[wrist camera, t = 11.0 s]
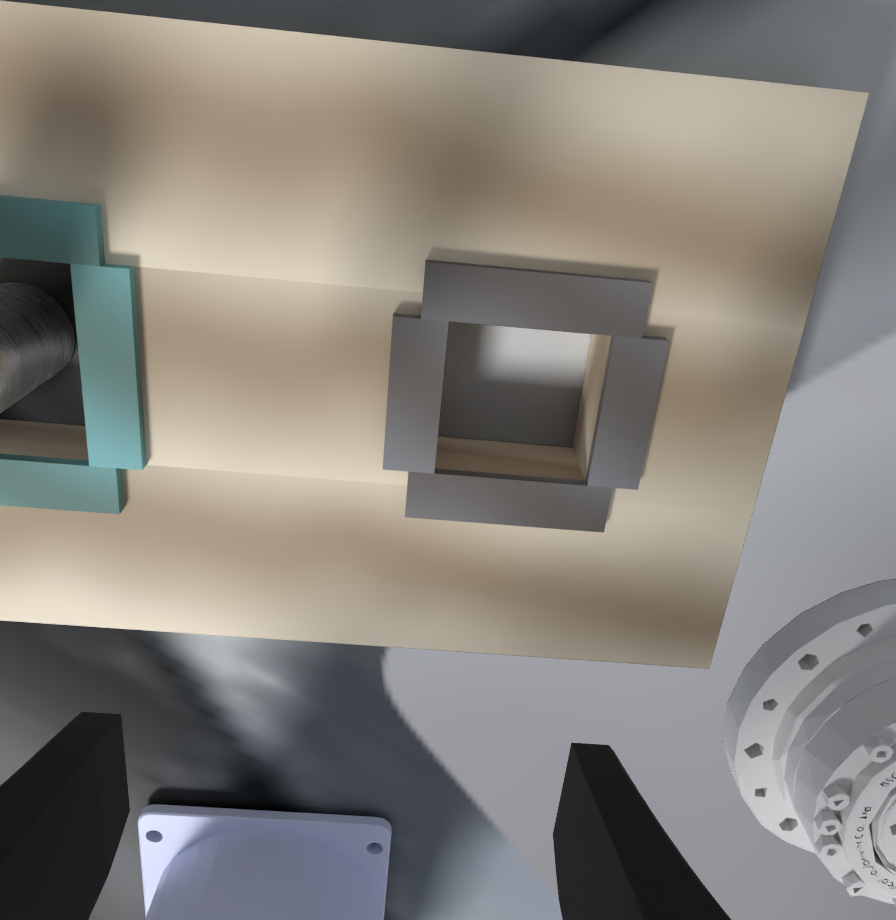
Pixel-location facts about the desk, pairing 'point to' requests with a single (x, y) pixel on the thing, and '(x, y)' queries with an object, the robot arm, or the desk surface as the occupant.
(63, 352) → the steel pin
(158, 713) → the desk surface
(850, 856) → the mechanical component
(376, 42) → the dock board
